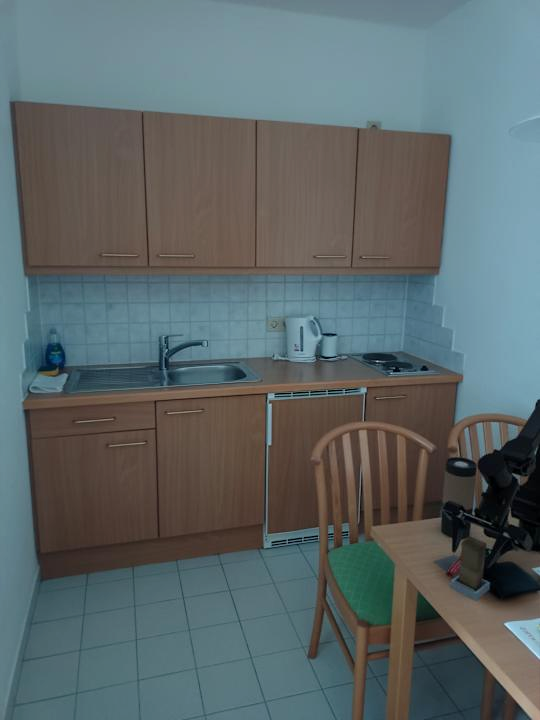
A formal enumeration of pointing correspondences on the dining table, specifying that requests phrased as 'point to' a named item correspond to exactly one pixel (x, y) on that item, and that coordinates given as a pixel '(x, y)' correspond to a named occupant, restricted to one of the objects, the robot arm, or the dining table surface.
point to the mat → (447, 563)
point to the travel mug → (458, 489)
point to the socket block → (469, 591)
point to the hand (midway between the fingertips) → (469, 559)
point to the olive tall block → (472, 563)
